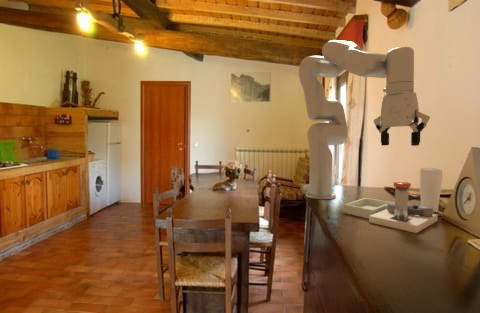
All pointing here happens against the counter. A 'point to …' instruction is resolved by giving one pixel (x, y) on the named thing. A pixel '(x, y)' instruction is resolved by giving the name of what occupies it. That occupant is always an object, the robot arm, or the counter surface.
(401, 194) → the lock pin
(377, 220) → the pulley board
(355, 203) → the tray
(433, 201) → the drinking glass
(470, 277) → the counter surface
